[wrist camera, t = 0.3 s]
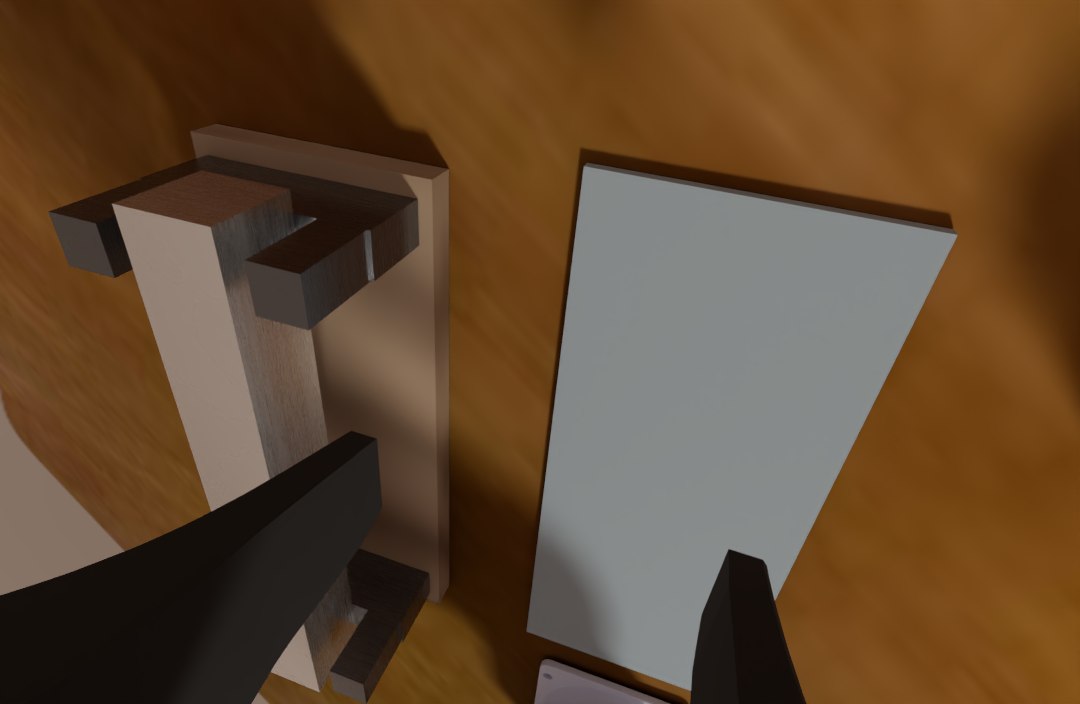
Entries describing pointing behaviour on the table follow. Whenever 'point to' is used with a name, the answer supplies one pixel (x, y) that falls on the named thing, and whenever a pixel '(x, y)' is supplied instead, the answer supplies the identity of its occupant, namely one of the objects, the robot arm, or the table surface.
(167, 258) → the rail
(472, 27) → the table surface
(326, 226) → the rack
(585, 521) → the mat
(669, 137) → the table surface
